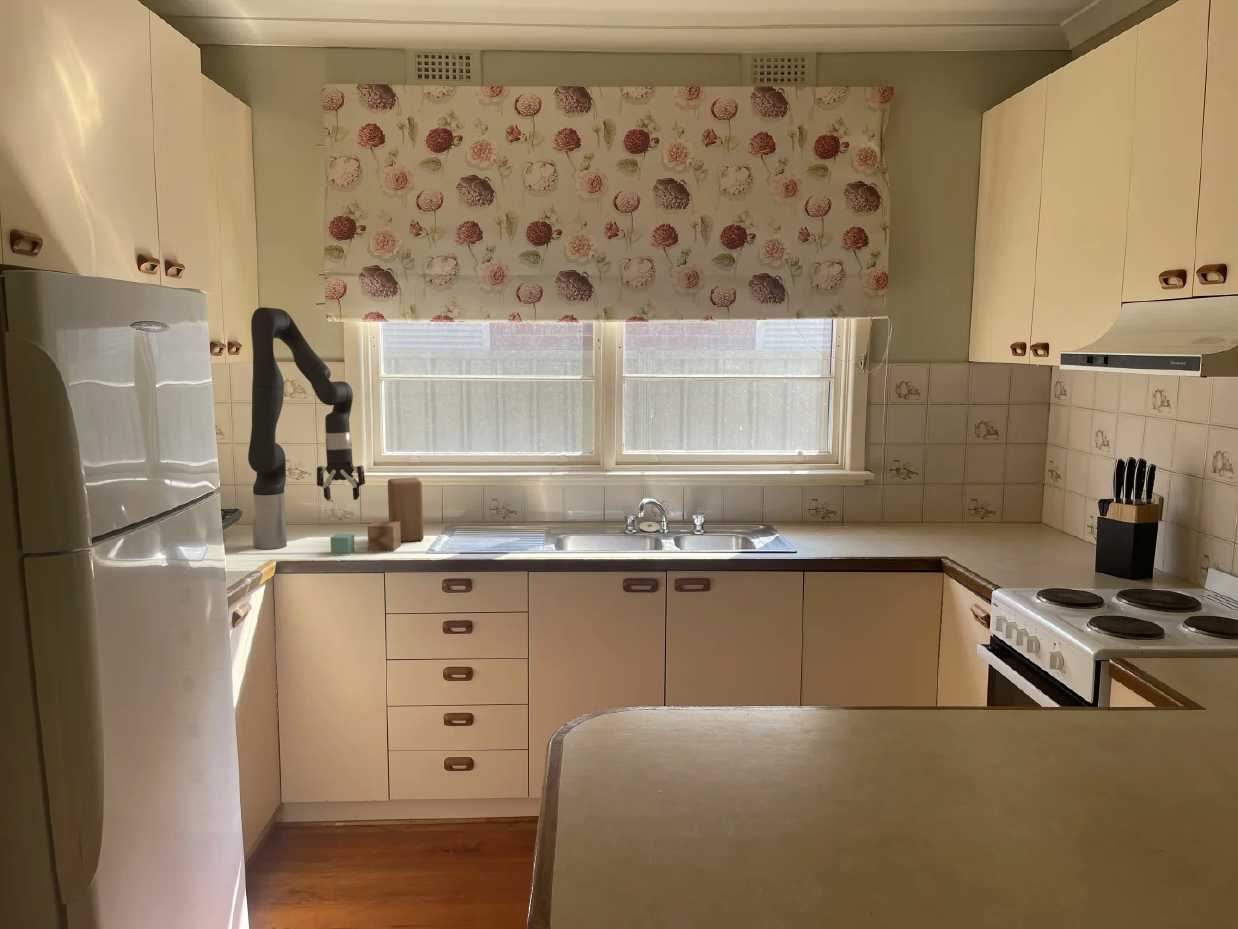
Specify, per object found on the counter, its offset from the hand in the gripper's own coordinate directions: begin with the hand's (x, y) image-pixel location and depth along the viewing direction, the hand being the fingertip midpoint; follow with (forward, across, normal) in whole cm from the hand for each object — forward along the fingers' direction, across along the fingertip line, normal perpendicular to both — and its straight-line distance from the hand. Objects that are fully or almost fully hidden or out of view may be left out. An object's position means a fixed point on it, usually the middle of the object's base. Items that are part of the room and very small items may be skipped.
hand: (342, 499), depth 283 cm
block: (+17, +13, +21) cm, 30 cm away
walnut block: (+17, +10, +7) cm, 21 cm away
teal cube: (+17, -1, 0) cm, 17 cm away
